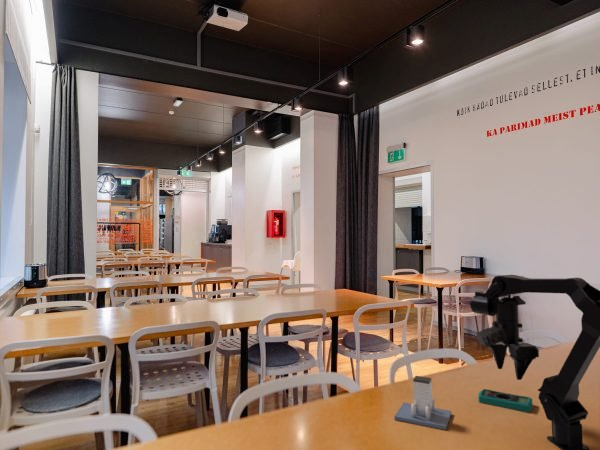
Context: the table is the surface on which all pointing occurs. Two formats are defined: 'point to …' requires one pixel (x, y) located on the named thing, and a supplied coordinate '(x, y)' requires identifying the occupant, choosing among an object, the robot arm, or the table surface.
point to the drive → (422, 394)
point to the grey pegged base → (436, 420)
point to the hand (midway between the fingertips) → (509, 374)
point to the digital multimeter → (505, 400)
